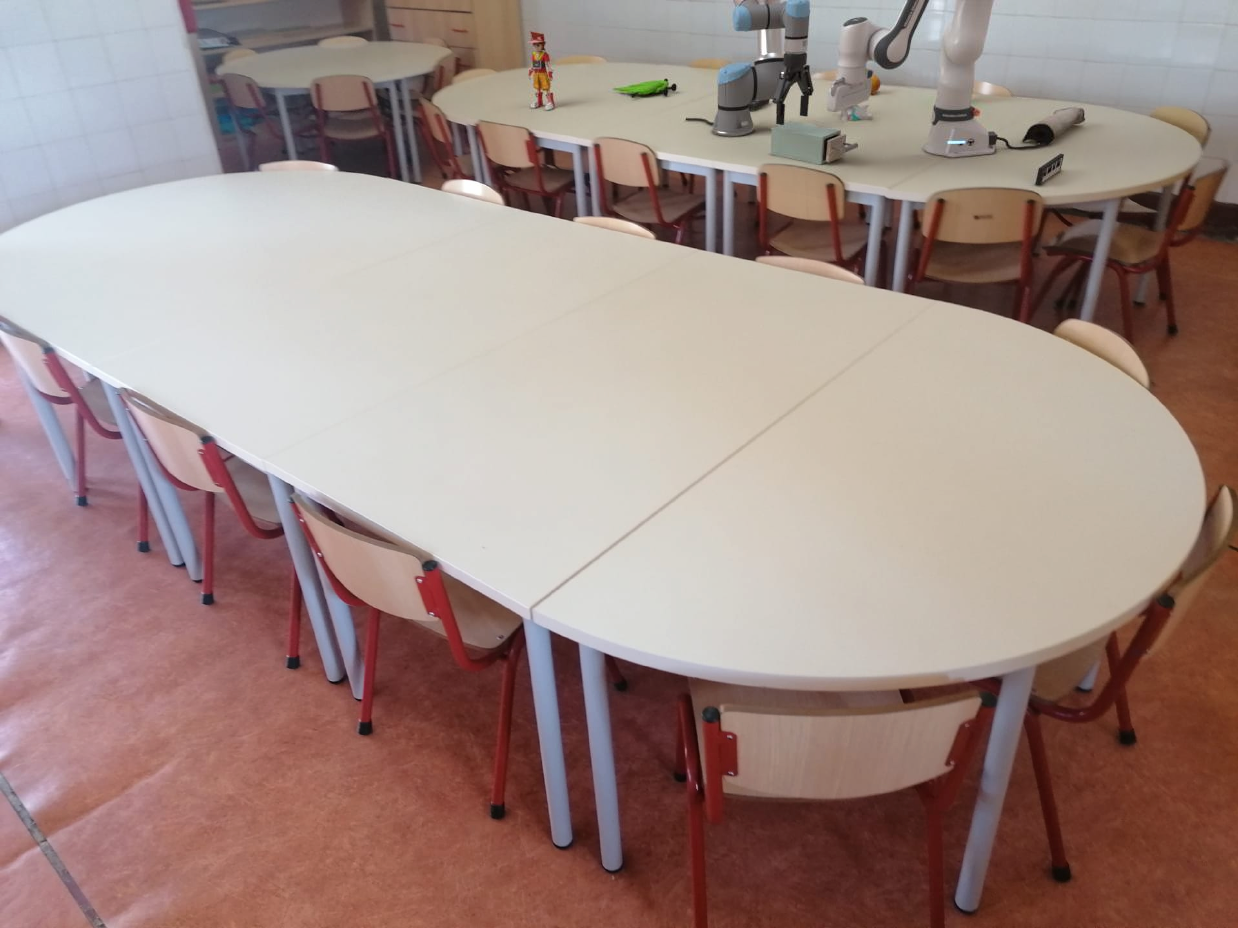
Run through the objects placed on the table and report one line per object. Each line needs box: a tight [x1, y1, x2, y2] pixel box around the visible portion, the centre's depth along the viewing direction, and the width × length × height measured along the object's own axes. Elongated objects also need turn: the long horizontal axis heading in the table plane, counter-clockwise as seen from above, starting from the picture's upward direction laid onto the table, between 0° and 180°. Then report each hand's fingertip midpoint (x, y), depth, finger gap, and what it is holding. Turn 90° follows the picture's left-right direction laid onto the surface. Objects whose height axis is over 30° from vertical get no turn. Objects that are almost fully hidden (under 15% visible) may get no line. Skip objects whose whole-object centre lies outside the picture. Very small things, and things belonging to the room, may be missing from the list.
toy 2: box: [612, 78, 677, 99], centre depth 396 cm, size 28×5×30 cm
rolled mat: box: [1021, 106, 1086, 146], centre depth 311 cm, size 30×9×10 cm
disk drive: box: [749, 99, 771, 111], centre depth 365 cm, size 10×3×15 cm
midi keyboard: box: [1035, 153, 1065, 186], centre depth 273 cm, size 18×1×5 cm, turn 138°
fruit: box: [870, 74, 882, 95], centre depth 372 cm, size 8×8×8 cm
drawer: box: [823, 133, 859, 163], centre depth 301 cm, size 25×9×7 cm, turn 45°
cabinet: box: [770, 120, 842, 165], centre depth 304 cm, size 21×11×9 cm, turn 45°
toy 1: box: [527, 31, 556, 111], centre depth 374 cm, size 12×9×30 cm
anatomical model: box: [852, 103, 874, 121], centre depth 343 cm, size 15×10×10 cm
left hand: (791, 120), depth 304 cm, fingers open, 13 cm apart
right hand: (846, 120), depth 290 cm, fingers closed
